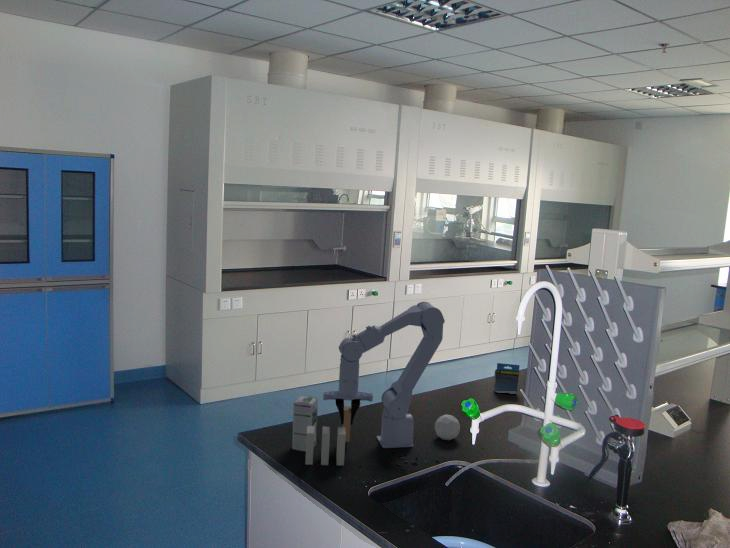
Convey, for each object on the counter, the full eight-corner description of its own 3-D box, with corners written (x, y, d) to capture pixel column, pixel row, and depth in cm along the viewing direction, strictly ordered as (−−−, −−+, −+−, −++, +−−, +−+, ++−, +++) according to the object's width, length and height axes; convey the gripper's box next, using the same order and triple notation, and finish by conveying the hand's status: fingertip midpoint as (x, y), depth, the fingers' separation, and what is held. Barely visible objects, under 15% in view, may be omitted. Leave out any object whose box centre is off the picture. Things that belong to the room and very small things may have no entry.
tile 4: (313, 456, 166) (314, 426, 165) (312, 464, 161) (314, 433, 160) (305, 456, 166) (307, 426, 165) (305, 464, 161) (306, 433, 160)
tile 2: (343, 457, 167) (345, 427, 165) (343, 465, 162) (345, 434, 161) (336, 457, 167) (337, 426, 165) (336, 465, 162) (338, 434, 160)
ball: (446, 444, 186) (455, 420, 189) (458, 445, 179) (468, 421, 182) (426, 433, 185) (436, 409, 188) (438, 434, 177) (448, 409, 180)
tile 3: (328, 456, 166) (329, 426, 165) (328, 465, 161) (329, 433, 160) (321, 456, 166) (322, 426, 165) (320, 464, 161) (322, 433, 160)
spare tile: (348, 434, 178) (350, 406, 176) (349, 441, 173) (351, 412, 172) (342, 434, 178) (343, 406, 176) (342, 441, 173) (344, 412, 171)
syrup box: (310, 452, 169) (313, 404, 167) (291, 449, 170) (293, 401, 168) (316, 444, 174) (318, 397, 172) (297, 441, 175) (299, 394, 173)
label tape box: (515, 392, 233) (518, 362, 231) (517, 395, 229) (520, 365, 227) (492, 390, 233) (495, 360, 232) (494, 393, 229) (496, 363, 228)
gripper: (324, 382, 168) (322, 427, 170) (374, 384, 169) (371, 429, 171) (324, 375, 175) (322, 418, 177) (372, 376, 176) (370, 419, 178)
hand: (346, 423), depth 175 cm, fingers closed on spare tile, 2 cm apart
